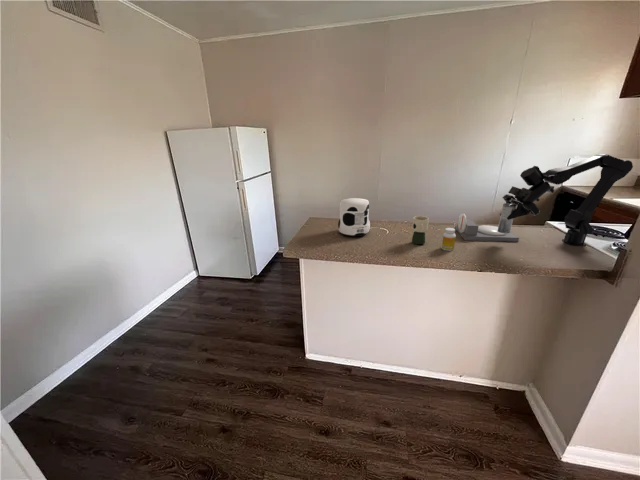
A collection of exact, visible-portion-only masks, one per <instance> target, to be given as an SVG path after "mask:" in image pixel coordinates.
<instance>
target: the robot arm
mask: <svg viewBox="0 0 640 480" xmlns="http://www.w3.org/2000/svg"><path fill="white" fill-rule="evenodd" d="M597 167H600V168H601V170H600V178H599V180H598V181H597V182H596V184H595V185H594V186H593V188H592V189H591V191H590V192H589V193H588V194H587V196H586V197H585V199H584V200H583V201H582V203H581V204H580V205H579V207H577V208H575V209H570V210H569V211H568V212H567V214H566V215H565V216H564V221H563V222H564V225H565V229H567V232H565V235H564V239H561V240H562V242H564V243H566V244H568V245H570V246H587V244H586V243H585V241H586V238H587V236H588V235H591V234H592V232H594V228H593V227H592V225H591V222H592V220H593V212H594V211H595V209H596V208H597V207H598V205H599V204H600V203H601V202H602V200H603V198H604V197H605V196H606V195H607V194H608V192H609V191H610V189H611V188H612V187H613V186H614V184H615V183H616V182H618V181H620V180H621V179H623V178H625V177H626V176H627V175H628V174H629V173H631V171H632V170H633V168H634V164H633V162H632V160H629V159H622V158H617V157H614V156H612V155H610V154H604V153H597V154H595V155H593V156H591V157H588V158H586V159H585V158H584V159H583V160H580V161H578V162H575V163H572V164H570V165H568V166H564V167H563V166H562V167H554V168H550V169H548V170H546V171H545V172H542V171H541V169H540V167H539V166H537V165H533V166H532V167H530V168H529V167H528V168H527V169H525V170H523V171H522V172H521V173H520V178H521V179H522V181H524V182H525V184H526V185H527V186H529V188H526V187H522V188H519V187H516V186H511V188H510V189H509V190H508V194H504V195H503V196H502V199H503V200H504V201H505V203H509V204H515V205H516V209H515V211H513V212H512V213H511V214H510V215H509V216H508V217H507V219H508V220H509V219H513V220H514V219H515V218H520V217H523V216H529V215H532V216H535V217H536V216H537V215H539V214H540V212H541V209H540V208H539V207H538V205H537V204H536V203H535V202H540V198H541V197H542V196H544V195H545V194H546V193H547V192H548V193H551V194H553V193H554V192H555V186H553V185H557V186H558V185H561V184H563V183H565V182H567V181H569V180H570V179H571V178H572V177H573V176H575V175H578V174H581V173H584V172H587V171H590V170H593V169H594V168H597ZM551 184H552V185H551ZM499 216H500V217H501V213H499Z"/></svg>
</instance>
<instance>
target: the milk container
mask: <svg viewBox="0 0 640 480" xmlns="http://www.w3.org/2000/svg"><path fill="white" fill-rule="evenodd" d="M369 212H370V201H369V200H368V199H366V198H359V197H351V198H350V197H349V198H344V199H341V200H340V202H339V219H338V222H337V227H338V228H337V229H338V232H339V233H341V234H342V235H344V236H348V237H360V236H361V237H362V236H365V235H367V234H368V233H369V231H370V229H371V222H370V216H369V215H370V213H369Z"/></svg>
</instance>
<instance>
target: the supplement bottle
mask: <svg viewBox="0 0 640 480" xmlns="http://www.w3.org/2000/svg"><path fill="white" fill-rule="evenodd" d="M455 232H456V229H455V228H453V227H446V228H445V231H444V233H442V240H441V245H440V246H441V247H440V248H441V249H442V250H443V251H447V252H448V251H453V250H454V249H455V243H456V237H457V235H456V233H455Z"/></svg>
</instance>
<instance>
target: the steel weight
mask: <svg viewBox="0 0 640 480" xmlns="http://www.w3.org/2000/svg"><path fill="white" fill-rule="evenodd" d="M515 209H517V206H516V205H515V204H509V203H506V202H505V203H503V204H502V208H501V212H500V214H501V216H500V219H499V222H498V225H497V226H498V232H500V233H510V232H512V231H511V229H512V226H513V221H514V218H513V219H509V220H508V219H507V217H508V216H509V215H510V214H511V213H512V212H513V211H515Z"/></svg>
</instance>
